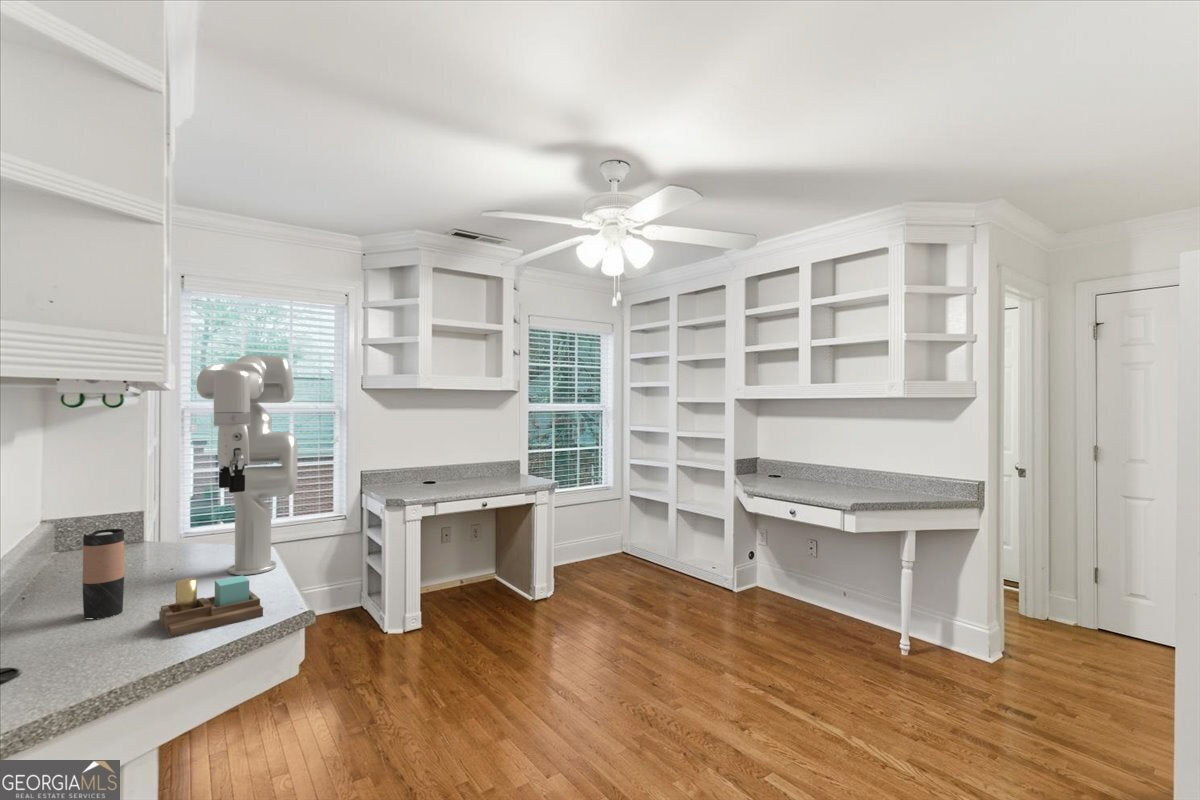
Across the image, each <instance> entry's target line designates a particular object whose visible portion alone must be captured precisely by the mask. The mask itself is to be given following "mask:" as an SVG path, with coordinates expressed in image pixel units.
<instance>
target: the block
mask: <svg viewBox="0 0 1200 800" xmlns="http://www.w3.org/2000/svg"><path fill="white" fill-rule="evenodd" d="M249 590H250V580H249V579H248V578H247V577H246V575H235V576H231V577H227V578H226V577H225V578H221V579H219V578H218V579H216V580H215V579H214V596H215V606H216V607H220V606H224V605H229V604H233V603H238V602H243V601H247V600H249Z"/></svg>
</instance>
